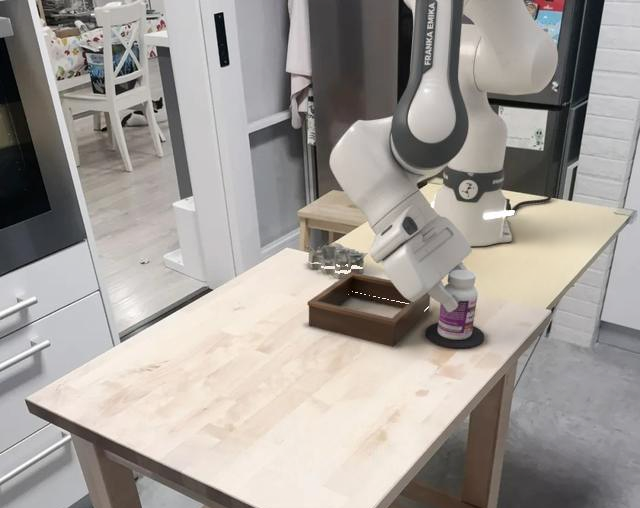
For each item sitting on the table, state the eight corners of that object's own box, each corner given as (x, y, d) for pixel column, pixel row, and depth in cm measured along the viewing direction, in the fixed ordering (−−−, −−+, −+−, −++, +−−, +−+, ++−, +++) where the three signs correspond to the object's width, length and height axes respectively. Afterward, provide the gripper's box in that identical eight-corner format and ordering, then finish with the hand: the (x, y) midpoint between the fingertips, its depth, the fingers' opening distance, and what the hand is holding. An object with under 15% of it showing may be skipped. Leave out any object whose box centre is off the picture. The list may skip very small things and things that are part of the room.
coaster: (431, 320, 116) (431, 318, 116) (487, 328, 113) (488, 326, 113) (420, 343, 109) (420, 341, 108) (479, 353, 106) (479, 350, 106)
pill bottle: (471, 342, 108) (480, 282, 103) (436, 339, 109) (442, 279, 104) (472, 327, 113) (480, 269, 107) (438, 324, 113) (445, 266, 108)
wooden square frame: (349, 294, 124) (350, 271, 122) (430, 312, 118) (432, 288, 116) (307, 326, 113) (307, 301, 111) (393, 347, 107) (395, 322, 105)
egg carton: (302, 266, 136) (302, 245, 133) (331, 257, 140) (331, 236, 138) (340, 281, 129) (341, 259, 127) (370, 272, 133) (371, 250, 131)
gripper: (418, 220, 116) (469, 289, 117) (363, 258, 101) (422, 336, 102) (447, 196, 112) (499, 268, 113) (395, 232, 96) (455, 314, 98)
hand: (462, 300), depth 107 cm, fingers closed on pill bottle, 5 cm apart
